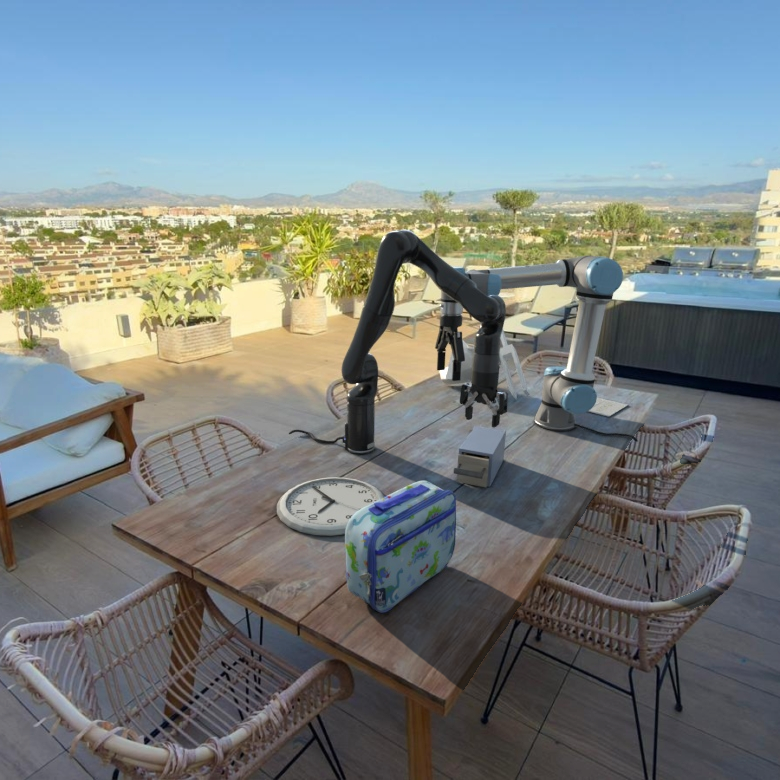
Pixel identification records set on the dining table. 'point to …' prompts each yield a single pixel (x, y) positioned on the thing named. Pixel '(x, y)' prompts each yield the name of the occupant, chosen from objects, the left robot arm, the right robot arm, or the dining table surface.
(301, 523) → the wall clock
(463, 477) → the drawer
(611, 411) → the invitation card
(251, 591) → the dining table surface
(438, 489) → the lunch box
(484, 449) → the cabinet
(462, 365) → the white plastic object
